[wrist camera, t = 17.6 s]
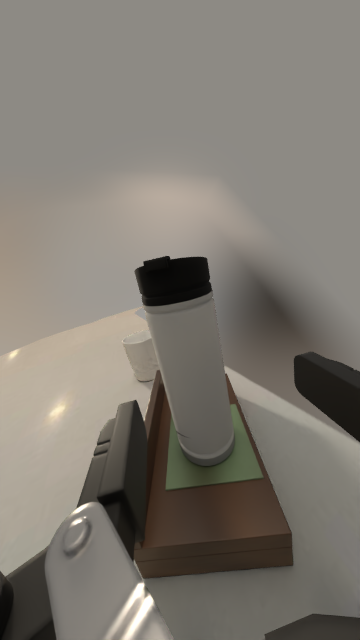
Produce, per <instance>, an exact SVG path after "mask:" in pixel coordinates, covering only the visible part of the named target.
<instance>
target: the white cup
mask: <svg viewBox="0 0 360 640" xmlns="http://www.w3.org/2000/svg"><path fill="white" fill-rule="evenodd" d="M122 343H123V346H124V348H125V351H126V354H127V357H128V359H129V361H130V364H131V367H132V369H133V370H134V373H135V376H136V379H137V380H139V381H150V380H153V379H155V375H156V371H157V370H160V368H159V364H158V360H157V357H156V353H155V349H154V345H153V342H152V338H151V334H150V330H144V331H139V332H136V333H133V334H131V335H128V336H127V337H125V338H124V339H123V340H122Z"/></svg>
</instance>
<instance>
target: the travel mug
mask: <svg viewBox="0 0 360 640" xmlns="http://www.w3.org/2000/svg"><path fill="white" fill-rule="evenodd" d="M135 275H136V279H137V282H138V286H139V290H140V293H141V294H142V302H143V308H144V310H145V311H146V312H145V315H146V319H147V323H148V327H149V330H150V334H151V338H152V342H153V345H154V349H155V353H156V357H157V360H158V364H159V368H160V372H161V375H162V379H163V383H164V387H165V391H166V394H167V398H168V402H169V406H170V409H171V413H172V417H173V421H174V424H175V428H176V432H177V436H178V439H179V443H180V447H181V450H182V452H183V454H184V455H185V456H186V458H187V459H189V460H190V461H191V462H193V463H195V464H198V465H202V466H212V465H216V464H218V463H221V462H222V461H224V460H225V459H226V458H227V457H228V456H229V455H230V454H231V452H232V450H233V447H234V444H235V436H234V429H233V423H232V416H231V410H230V403H229V396H228V390H227V383H226V376H225V370H224V364H223V357H222V350H221V344H220V337H219V330H218V323H217V317H216V310H215V303H214V299H213V298H212V297H213V290H212V288H211V283H210V282H209V279H210V275H209V269H208V262H207V258H204V257H186V258H178V259H172V260H171V259H170V257H169V256H165V257H161V258H156V259H152V260H148V261H144V266H142V267H139V268H137V269H136V270H135Z"/></svg>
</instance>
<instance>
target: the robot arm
mask: <svg viewBox="0 0 360 640" xmlns="http://www.w3.org/2000/svg"><path fill="white" fill-rule="evenodd" d="M294 379H295V380H294V381H295V386H296V388H297V390H298V391H299V393H301V395H302V396H304V397H305V398H306V399H308V400H309V401H310V402H311V403H312V404H313V405H315V406H316V407H317V408H318V409H320V410H321V411H322V412H323V413H325V414H326V415H327V416H328V417H329V418H331V419H332V420H333V421H335V422H336V423H337V424H338V425H339V426H341V427H342V428H343V429H344V430H346V431H347V432H348V433H349V434H350V435H352V436H353V437H354V438H355V439H356V440H358V441H359V442H360V372H359V371H357V370H354V369H353V368H351V367H349V366H347V365H345V364H343V363H340V362H337V361H333V360H329V359H326V358H324V357H322V356H320V355H318V354H316V353H314V352H308V353H304V354H301V355H297V356H295V358H294ZM146 473H147V432H146V427H145V424H144V421H143V418H142V414H141V411H140V408H139V405H138V403H137V401H136V400H134V401H130V402H127V403H123V404H120V405H119V406H118V410H117V414H116V418H114V419H110V420H108V422H107V423H106V425H105V426H104V427H103V429H102V430H101V432H100V435H99V439H98V442H97V446H96V448H95V451H94V457H93V458H92V461H91V464H90V467H89V470H88V474H87V477H86V480H85V483H84V486H83V489H82V493H81V496H80V499H79V502H78V505H77V508H76V510H74V511H73V512H72V513H71V514H70V515H69V516H68V517H67V518H66V519H65V520H64V522H63V523H62V524H61V525H60V527H59V528H58V530H57V531H56V533H55V535H54V537H53V538H52V541H51V543H50V545H49V546H47V547H46V548H45V549H44V550H42V551H41V552H40V553H38V554H37V555H35V556H34V557H33V558H31V559H30V560H28V561H27V562H26V563H24V564H23V565H21V566H20V567H19V568H17V569H16V570H14V571H13V572H12V573H10V574H9V575H7V576H6V577H5V576H4V575H3V574H2V573H1V571H0V640H174V638H173V636H172V634H171V632H170V630H169V628H168V626H167V625H166V623H165V621H164V619H163V617H162V615H161V613H160V611H159V609H158V608H157V606H156V604H155V602H154V600H153V598H152V596H151V594H150V593H149V591H148V589H147V588H146V586H145V584H144V582H143V581H142V579H141V577H140V575H139V573H138V571H137V569H136V567H135V565H134V563H133V561H134V545H135V543H138V542H141V541H144V540H145V518H146ZM265 639H266V640H360V618H356V617H345V616H333V615H321V614H311V615H309V616H307V617H304V618H302V619H300V620H297V621H295V622H293V623H290V624H288V625H286V626H283V627H281V628H279V629H276V630H274V631H272V632H269V633H267V634H265Z"/></svg>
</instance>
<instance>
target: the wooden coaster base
mask: <svg viewBox="0 0 360 640" xmlns="http://www.w3.org/2000/svg"><path fill="white" fill-rule="evenodd" d="M225 376H226V383H227V390H228V396H229V403H230V410H231V416H232V423H233V429H234V436H235V444H234V447H233V450H232V452H231V454H230V455H229V456H228V457H227V458H226V459H225V460H224V461H222V462H221V463H218V464H216V465H212V466H202V465H198V464H195V463H193V462H191V461H190V460H189V459H187V458H186V456H185V455H184V454H183V452H182V450H181V447H180V443H179V439H178V436H177V432H176V428H175V424H174V421H173V417H172V413H171V409H170V406H169V402H168V398H167V394H166V391H165V387H164V383H163V379H162V375H161V372H160V370H157V371H156V375H155V379H154V383H153V387H152V391H151V395H150V399H149V403H148V407H147V411H146V415H145V419H144V424H145V427H146V432H147V473H146V518H145V540H144V541H141V542H138V543H135V545H134V560H135V561H136V564H137V566H138V568H139V570H140V573H141V575H142V577H143V578H154V577H165V576H176V575H187V574H198V573H209V572H220V571H232V570H243V569H254V568H265V567H276V566H287V565H293V553H292V533H291V530H290V528H289V526H288V523H287V521H286V518H285V516H284V513H283V511H282V508H281V506H280V503H279V501H278V499H277V496H276V494H275V491H274V489H273V486H272V484H271V481H270V479H269V476H268V474H267V472H266V469H265V467H264V464H263V462H262V459H261V457H260V454H259V452H258V449H257V447H256V445H255V442H254V440H253V437H252V435H251V432H250V430H249V427H248V425H247V422H246V420H245V418H244V415H243V413H242V410H241V408H240V405H239V403H238V400H237V398H236V395H235V393H234V391H233V388H232V386H231V383H230V381H229V378H228V376H227V374H225Z"/></svg>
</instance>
